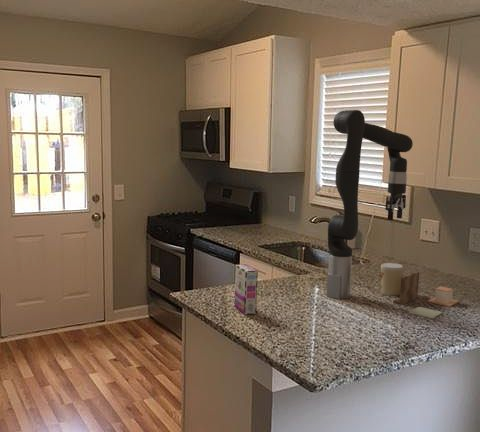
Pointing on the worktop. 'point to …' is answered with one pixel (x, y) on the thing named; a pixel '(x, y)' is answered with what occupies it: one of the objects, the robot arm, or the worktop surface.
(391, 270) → the coffee cup
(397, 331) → the worktop surface
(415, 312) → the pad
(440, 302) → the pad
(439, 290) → the block
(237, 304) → the candy bar box
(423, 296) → the worktop surface
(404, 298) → the screen
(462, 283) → the worktop surface
